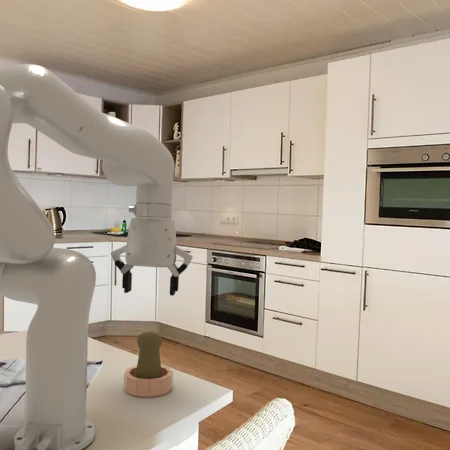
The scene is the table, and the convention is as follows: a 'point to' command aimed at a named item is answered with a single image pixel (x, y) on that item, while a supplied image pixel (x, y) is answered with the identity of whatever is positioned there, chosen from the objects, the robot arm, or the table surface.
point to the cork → (149, 356)
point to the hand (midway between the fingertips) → (150, 293)
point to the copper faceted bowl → (148, 383)
